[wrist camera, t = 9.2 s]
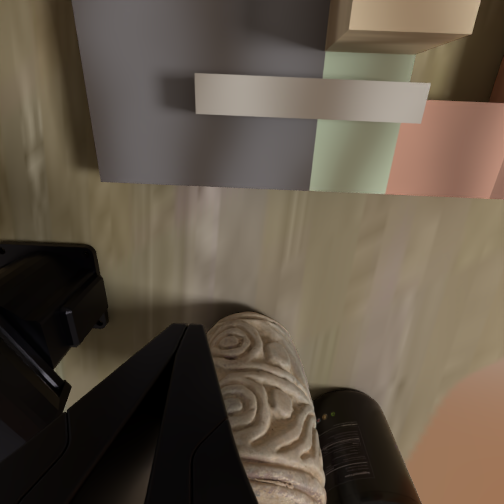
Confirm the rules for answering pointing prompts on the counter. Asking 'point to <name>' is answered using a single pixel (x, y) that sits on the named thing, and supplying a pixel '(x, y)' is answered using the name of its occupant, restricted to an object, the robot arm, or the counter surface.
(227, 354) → the carving
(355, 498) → the supplement bottle
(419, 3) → the maple block
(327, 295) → the counter surface
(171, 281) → the counter surface
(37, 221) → the counter surface
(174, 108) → the channel deck
